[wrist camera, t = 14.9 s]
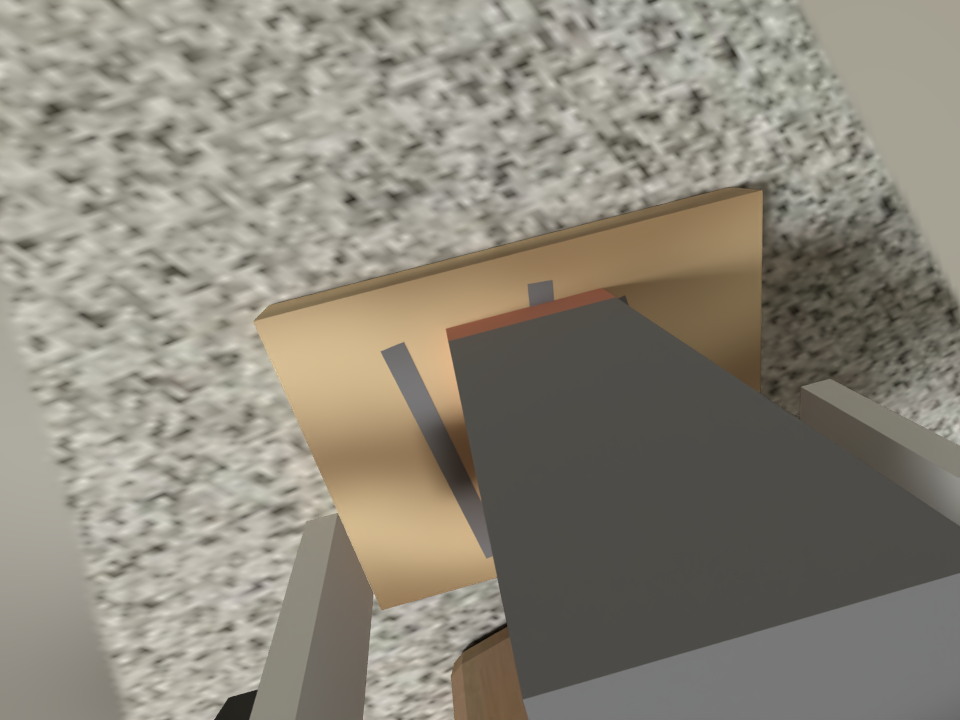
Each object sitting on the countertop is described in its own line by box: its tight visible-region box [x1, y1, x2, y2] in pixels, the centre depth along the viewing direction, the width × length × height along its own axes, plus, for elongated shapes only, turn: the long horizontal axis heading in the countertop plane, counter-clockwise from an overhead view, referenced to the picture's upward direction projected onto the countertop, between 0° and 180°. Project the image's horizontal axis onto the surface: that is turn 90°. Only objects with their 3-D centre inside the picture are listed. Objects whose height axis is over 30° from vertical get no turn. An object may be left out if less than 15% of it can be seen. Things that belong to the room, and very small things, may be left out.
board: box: [253, 187, 763, 610], centre depth 16 cm, size 11×14×2 cm
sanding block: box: [446, 288, 960, 720], centre depth 10 cm, size 8×4×10 cm, turn 13°
